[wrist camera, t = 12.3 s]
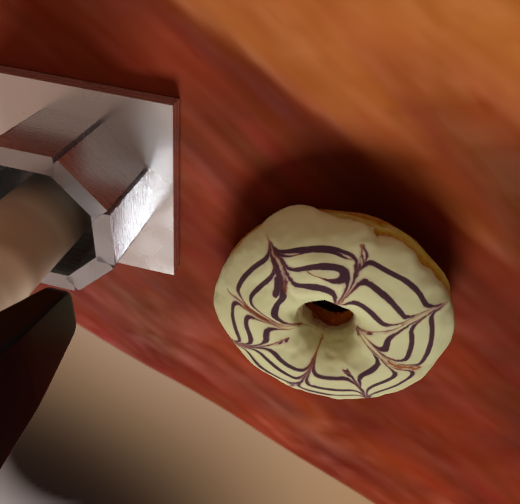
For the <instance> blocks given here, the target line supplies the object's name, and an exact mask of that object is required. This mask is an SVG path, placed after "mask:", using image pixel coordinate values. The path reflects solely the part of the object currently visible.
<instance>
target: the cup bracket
mask: <svg viewBox="0 0 520 504" xmlns="http://www.w3.org/2000/svg"><path fill="white" fill-rule="evenodd" d="M179 124H180V99H178V98H173V97H168V96H162V95H157V94H152V93H146V92H141V91H136V90H130V89H125V88H120V87H114V86H109V85H104V84H98V83H93V82H88V81H82V80H77V79H72V78H66V77H61V76H56V75H50V74H45V73H40V72H34V71H29V70H24V69H18V68H13V67H8V66H2V65H0V200H1V199H2V198H3V197H5V196H6V195H7V194H8V193H10V192H11V191H12V190H13V189H14V188H16V187H17V186H18V185H19V184H21V183H22V182H23V181H24V180H26V179H27V178H28V177H29V176H31V175H32V174H33V173H34V172H35V173H40V174H45V175H49V176H51V177H52V178H53V179H54V180H55V181H56V182H57V183H58V184H59V185H60V186H61V187H62V188H63V189H64V190H65V191H66V192H67V193H68V194H69V195H70V196H71V197H72V198H73V199H74V200H75V201H76V202H77V203H78V204H79V205H80V206H81V207H82V208H83V209H84V210H85V211H86V212H87V213H88V214H89V215H90V216H91V222H92V225H91V226H90V227H89V228H88V229H87V230H86V232H85V233H84V234H83V235H82V236H81V237H80V238H79V239H78V241H77V242H76V243H75V244H74V245H73V246H72V247H71V248H70V249H69V251H68V252H67V253H66V254H65V255H64V256H63V257H62V258H61V260H60V261H59V262H58V263H57V264H56V265H55V266H54V267H53V269H52V270H51V271H50V272H49V273H48V274H47V275H46V276H45V277H44V279H43V280H42V281H41V282H40V283H44V284H49V285H53V286H57V287H61V288H66V289H70V290H74V291H75V290H76V289H78V290H80V289H82V288H84V287H85V286H87V285H88V284H90V283H91V282H93V281H95V280H96V279H98V278H99V277H101V276H102V275H104V274H106V273H107V272H109V271H110V270H112V269H113V268H114V267H115V266H116V264H117V263H123V264H127V265H132V266H136V267H140V268H145V269H149V270H154V271H158V272H162V273H167V274H171V275H174V274H175V272H176V270H177V268H178V267H179Z"/></svg>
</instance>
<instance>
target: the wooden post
mask: <svg viewBox="0 0 520 504" xmlns="http://www.w3.org/2000/svg"><path fill="white" fill-rule="evenodd" d="M91 225H92V222H91V216H90V215H89V214H88V213H87V212H86V211H85V210H84V209H83V208H82V207H81V206H80V205H79V204H78V203H77V202H76V201H75V200H74V199H73V198H72V197H71V196H70V195H69V194H68V193H67V192H66V191H65V190H64V189H63V188H62V187H61V186H60V185H59V184H58V183H57V182H56V181H55V180H54V179H53V178H52V177H51V176H49V175H45V174H40V173H35V172H34V173H33V174H32V175H31V176H29V177H28V178H27V179H26V180H24V181H23V182H22V183H21V184H19V185H18V186H17V187H16V188H14V189H13V190H12V191H11V192H10V193H8V194H7V195H6V196H5V197H3V198H2V199H1V200H0V311H2V310H4V309H6V308H8V307H10V306H11V305H13V304H15V303H17V302H19V301H21V300H23V299H25V298H27V297H28V295H29V294H30V293H31V292H32V291H33V290H34V289H35V288H36V286H37V285H38V284H39V283H40V282H41V281H42V280H43V279H44V277H45V276H46V275H47V274H48V273H49V272H50V271H51V270H52V269H53V267H54V266H55V265H56V264H57V263H58V262H59V261H60V260H61V258H62V257H63V256H64V255H65V254H66V253H67V252H68V251H69V249H70V248H71V247H72V246H73V245H74V244H75V243H76V242H77V241H78V239H79V238H80V237H81V236H82V235H83V234H84V233H85V232H86V230H87V229H88V228H89V227H90V226H91Z"/></svg>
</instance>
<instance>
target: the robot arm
mask: <svg viewBox="0 0 520 504" xmlns="http://www.w3.org/2000/svg"><path fill="white" fill-rule="evenodd" d="M75 328H76V318H75V313H74V308H73V302H72V297H71V295H70V293H69V292H67V291H64V290H60V289H56V288H45V289H42V290H40V291H39V292H37V293H35V294H33V295H31V296H29V297H27V298H25V299H23V300H21V301H19V302H17V303H15V304H13V305H11V306H10V307H8V308H6V309H4V310H2V311H0V469H1V467H2V465H3V464H4V462H5V461H6V459H7V457H8V456H9V454H10V453H11V451H12V449H13V448H14V446H15V445H16V443H17V441H18V440H19V438H20V436H21V435H22V433H23V432H24V430H25V428H26V427H27V425H28V423H29V422H30V420H31V418H32V417H33V415H34V413H35V412H36V410H37V408H38V407H39V405H40V403H41V401H42V399H43V397H44V395H45V393H46V391H47V389H48V387H49V385H50V383H51V381H52V379H53V377H54V374H55V372H56V370H57V368H58V366H59V364H60V362H61V360H62V358H63V356H64V353H65V351H66V349H67V347H68V345H69V343H70V341H71V339H72V337H73V335H74V332H75Z"/></svg>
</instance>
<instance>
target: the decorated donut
mask: <svg viewBox="0 0 520 504" xmlns="http://www.w3.org/2000/svg"><path fill="white" fill-rule="evenodd" d="M320 300H327V301H330V302H332V303H334V304H336V305H339V306H341V307H343V308H346V309H349V310H346V311H342V312H341V311H338V312H331V311H329V310H327V309H324V308H322V307H320V306H318V305H316V304H314V303H312V301H320ZM214 306H215V310H216V313H217V315H218V318H219V320H220V322H221V324H222V325H223V327H224V328H225V330H226V332H227V333H228V334H229V336H230V337H231V339H232V340H233V342H234V343H235V344H236V346H237V347H238V348H239V349H240V350H241V352H242V353H243V354H244V355H245V356H246V358H247V359H248V360H249V361H250V362H251V363H252V364H253V365H255V366H256V367H257V368H259V369H260V370H262V371H264V372H266V373H268V374H269V375H271V376H273V377H275V378H277V379H278V380H279V381H281V382H283V383H285V384H286V385H288V386H290V387H292V388H295V389H301V390H304V391H306V392H310V393H314V394H319V395H323V396H328V397H331V398H335V399H358V398H372V397H378V396H381V395H384V394H388V393H393V392H397V391H399V390H402V389H404V388H406V387H408V386H409V385H411V384H413V383H415V382H416V381H418V380H420V379H422V378H423V377H424V376H425V375H426V373H427V372H428V371H429V370H430V368H431V367H432V366H433V365H434V363H435V362H436V360H437V359H438V358H439V357H440V355H441V354H442V353H443V351H444V350H445V349H446V348H447V346H448V345H449V343H450V341H451V338H452V335H453V332H454V325H455V324H454V308H453V304H452V301H451V294H450V284H449V282H448V280H447V278H446V276H445V274H444V272H443V271H442V270H441V269H440V268H439V267H438V265H437V264H436V263H435V262H434V261H433V260H432V259H431V257H430V256H429V255H428V254H427V253H426V252H425V251H424V250H423V248H422V247H421V246H420V245H419V243H418V242H417V241H416V240H415V239H413V238H412V237H410V236H409V235H407V234H406V233H404V232H403V231H401V230H399V229H398V228H396V227H394V226H392V225H391V224H389V223H388V222H385V221H383V220H381V219H380V218H377V217H374V216H370V215H367V214H363V213H355V212H346V211H337V210H328V209H316V208H314V207H311V206H307V205H293V206H288V207H286V208H284V209H281V210H279V211H278V212H276V213H274V214H273V215H271V216H270V217H268V218H267V219H266V220H265V221H264V222H263V223H262V224H260V225H258V226H257V227H255V228H254V229H253V230H251V231H250V232H249V233H247V234H246V235H245V236H244V237H243V238H242V239H241V240H240V241H239V243H238V244H237V245H236V246H235V247H234V248H233V250H232V251H231V253H230V255H229V257H228V258H227V260H226V262H225V264H224V265H223V268H222V271H221V273H220V276H219V279H218V281H217V283H216V287H215V293H214Z"/></svg>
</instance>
